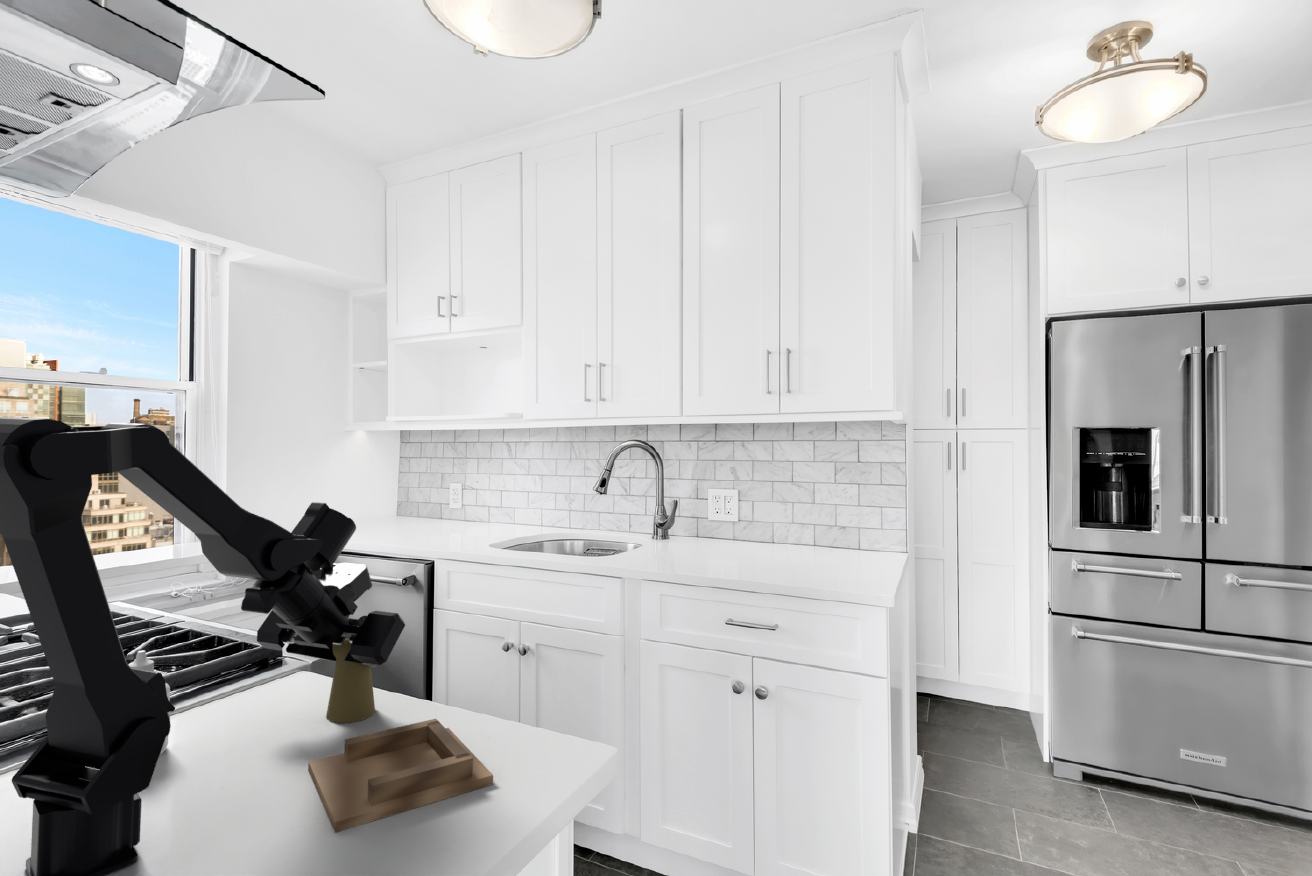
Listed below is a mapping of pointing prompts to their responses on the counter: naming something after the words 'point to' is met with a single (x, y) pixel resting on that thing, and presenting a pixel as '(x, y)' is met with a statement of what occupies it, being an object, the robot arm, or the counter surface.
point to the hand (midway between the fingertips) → (360, 661)
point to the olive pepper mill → (350, 689)
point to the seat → (395, 773)
